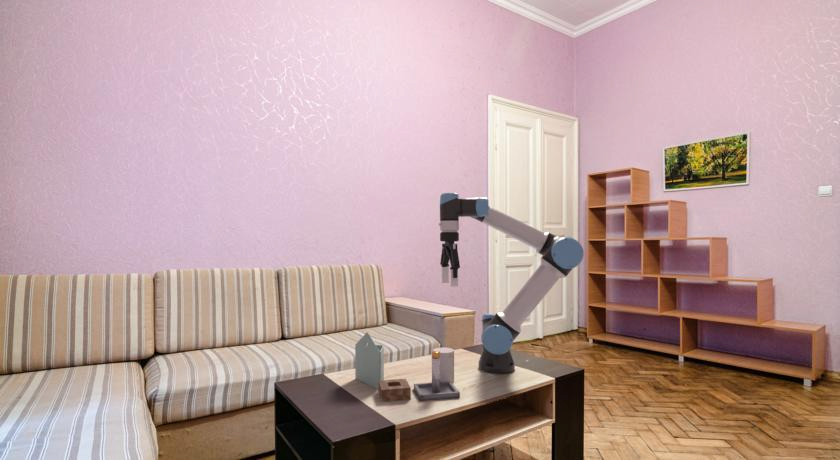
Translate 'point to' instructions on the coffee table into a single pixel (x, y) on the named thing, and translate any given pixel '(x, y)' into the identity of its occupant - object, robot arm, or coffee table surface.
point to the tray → (445, 392)
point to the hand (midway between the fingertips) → (449, 284)
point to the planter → (369, 361)
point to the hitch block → (394, 390)
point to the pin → (435, 371)
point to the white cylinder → (446, 364)
